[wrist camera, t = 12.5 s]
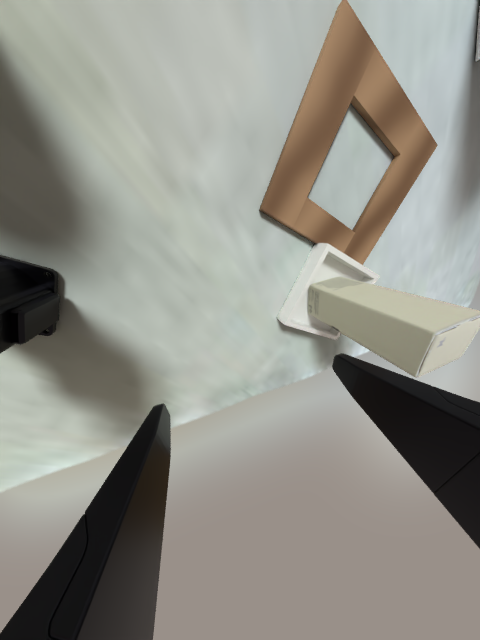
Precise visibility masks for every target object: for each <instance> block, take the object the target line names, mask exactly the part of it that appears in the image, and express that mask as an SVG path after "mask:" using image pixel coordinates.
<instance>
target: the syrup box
mask: <svg viewBox="0 0 480 640" xmlns="http://www.w3.org/2000/svg"><path fill="white" fill-rule="evenodd" d="M479 60H480V8H479V20H478V32H477V46H476V58H475V61H476V62H477V61H479Z"/></svg>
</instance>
